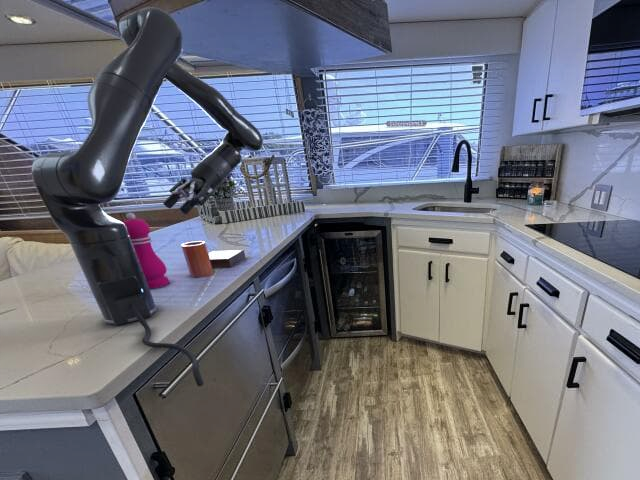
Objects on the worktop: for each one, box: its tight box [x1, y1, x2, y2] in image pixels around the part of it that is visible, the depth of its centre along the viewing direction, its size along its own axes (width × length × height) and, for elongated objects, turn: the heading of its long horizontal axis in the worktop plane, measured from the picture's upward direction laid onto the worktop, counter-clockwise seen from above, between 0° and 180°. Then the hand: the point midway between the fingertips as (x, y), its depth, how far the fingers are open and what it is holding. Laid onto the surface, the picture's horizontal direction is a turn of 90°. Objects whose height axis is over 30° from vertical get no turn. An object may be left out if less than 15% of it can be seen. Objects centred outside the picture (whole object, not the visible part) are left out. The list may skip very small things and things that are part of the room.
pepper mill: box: [122, 212, 170, 290], centre depth 87 cm, size 7×7×20 cm
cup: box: [180, 240, 214, 278], centre depth 97 cm, size 6×6×10 cm
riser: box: [208, 249, 246, 269], centre depth 108 cm, size 11×11×3 cm
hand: (173, 209), depth 93 cm, fingers open, 8 cm apart
